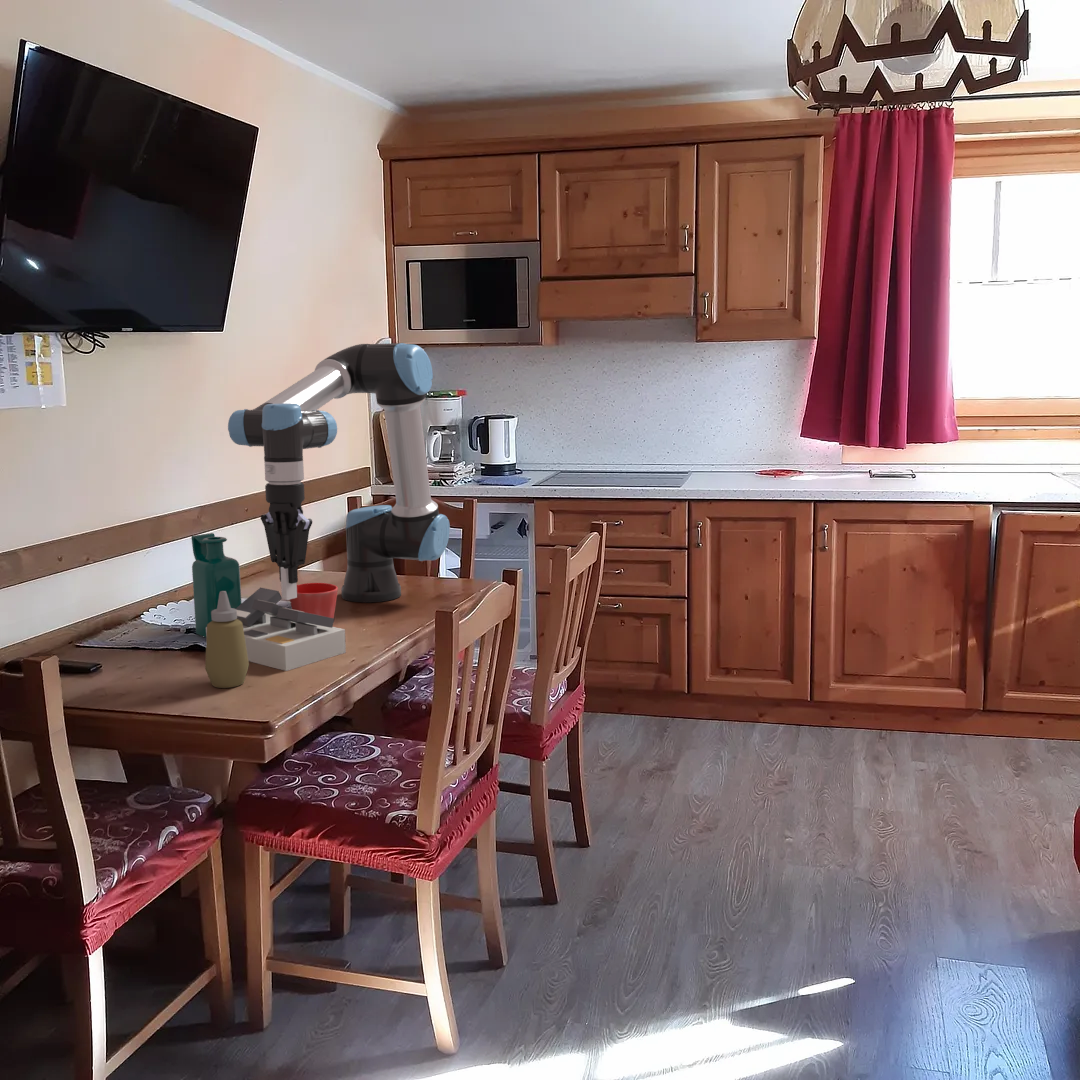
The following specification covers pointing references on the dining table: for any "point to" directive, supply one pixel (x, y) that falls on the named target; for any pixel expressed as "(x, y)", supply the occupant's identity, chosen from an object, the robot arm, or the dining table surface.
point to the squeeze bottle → (225, 646)
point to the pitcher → (212, 578)
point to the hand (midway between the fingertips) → (289, 598)
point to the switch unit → (291, 642)
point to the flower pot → (316, 599)
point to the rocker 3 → (305, 617)
